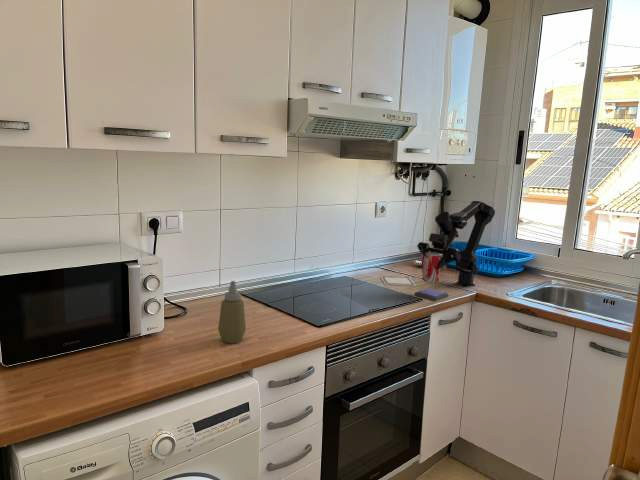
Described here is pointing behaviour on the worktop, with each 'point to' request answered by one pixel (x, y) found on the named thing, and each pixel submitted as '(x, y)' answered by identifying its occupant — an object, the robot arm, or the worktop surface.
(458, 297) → the worktop surface
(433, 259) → the soda can
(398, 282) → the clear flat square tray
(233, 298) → the squeeze bottle
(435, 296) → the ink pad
